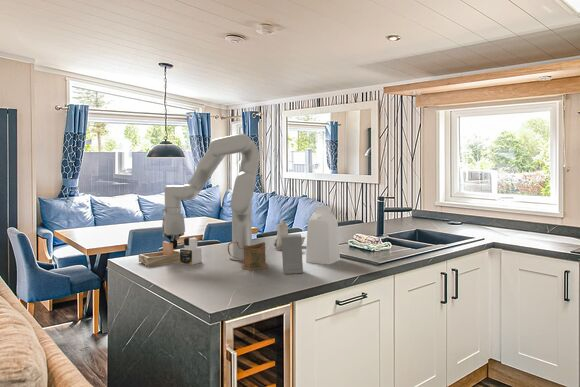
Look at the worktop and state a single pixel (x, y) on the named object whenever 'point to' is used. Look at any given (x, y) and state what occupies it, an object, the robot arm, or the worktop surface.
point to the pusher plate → (167, 248)
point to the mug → (253, 256)
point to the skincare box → (292, 254)
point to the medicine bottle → (190, 252)
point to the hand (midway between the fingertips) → (173, 248)
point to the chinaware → (282, 231)
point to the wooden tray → (159, 258)
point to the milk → (322, 237)
